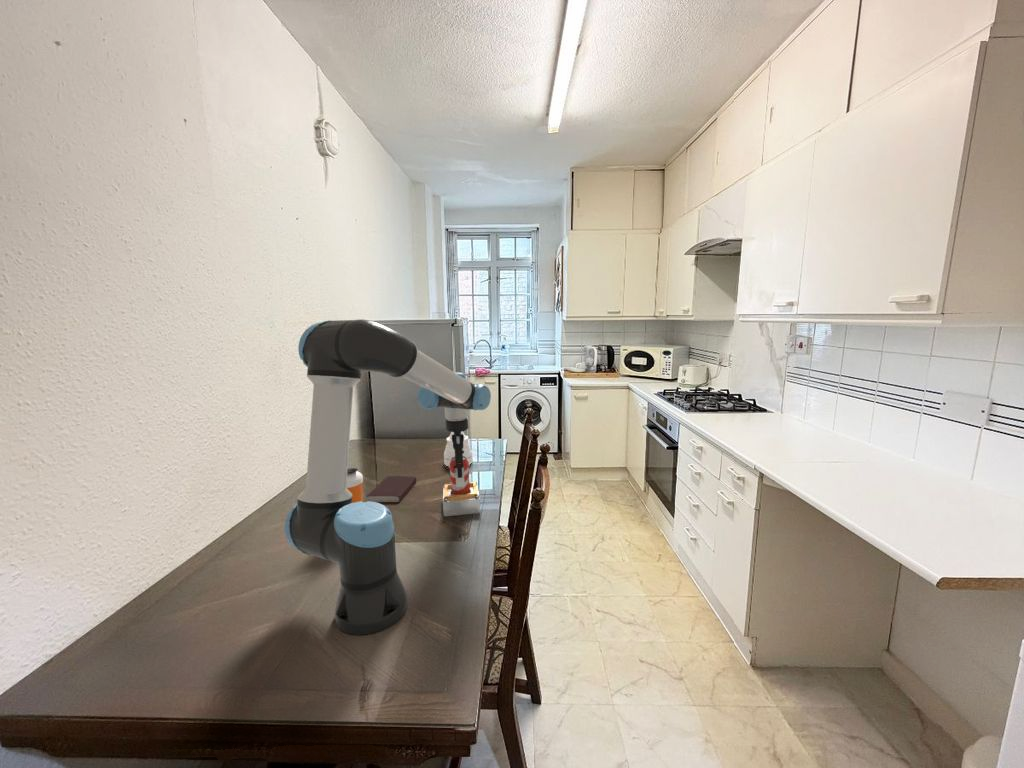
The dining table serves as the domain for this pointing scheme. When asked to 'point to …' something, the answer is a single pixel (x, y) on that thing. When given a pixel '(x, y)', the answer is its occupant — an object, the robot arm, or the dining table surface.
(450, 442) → the honey pot
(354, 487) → the shaker bottle
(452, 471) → the beverage can
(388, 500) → the book
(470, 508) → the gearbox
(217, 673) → the dining table surface
